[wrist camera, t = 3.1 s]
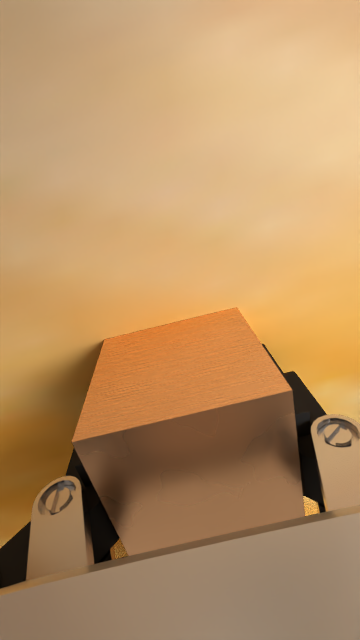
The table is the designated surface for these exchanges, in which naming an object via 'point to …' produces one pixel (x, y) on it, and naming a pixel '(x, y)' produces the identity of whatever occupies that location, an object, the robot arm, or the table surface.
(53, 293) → the table surface
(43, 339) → the table surface
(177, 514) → the tall tan block
